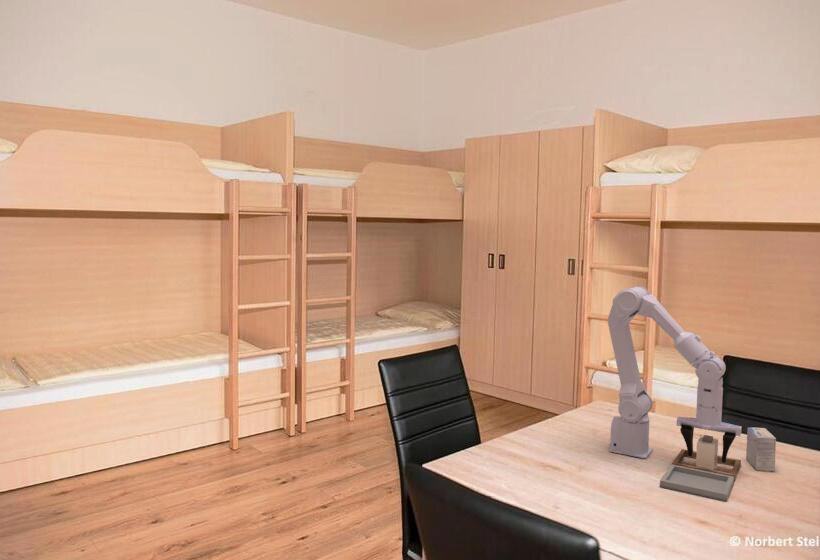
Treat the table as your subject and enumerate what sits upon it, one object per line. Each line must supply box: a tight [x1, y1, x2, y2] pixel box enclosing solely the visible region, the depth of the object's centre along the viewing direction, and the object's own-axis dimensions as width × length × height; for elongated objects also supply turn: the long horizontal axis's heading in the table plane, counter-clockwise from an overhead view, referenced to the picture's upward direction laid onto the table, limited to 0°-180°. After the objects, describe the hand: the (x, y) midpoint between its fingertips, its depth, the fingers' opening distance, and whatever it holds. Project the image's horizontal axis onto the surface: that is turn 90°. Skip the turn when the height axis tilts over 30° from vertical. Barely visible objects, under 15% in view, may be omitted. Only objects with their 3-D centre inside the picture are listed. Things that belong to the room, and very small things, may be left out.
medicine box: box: [745, 427, 777, 472], centre depth 161 cm, size 8×4×9 cm, turn 168°
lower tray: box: [659, 463, 735, 502], centre depth 149 cm, size 14×12×2 cm
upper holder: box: [671, 448, 742, 483], centre depth 160 cm, size 14×12×2 cm
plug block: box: [695, 434, 719, 470], centre depth 160 cm, size 4×6×8 cm, turn 146°
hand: (706, 458), depth 160 cm, fingers open, 7 cm apart
